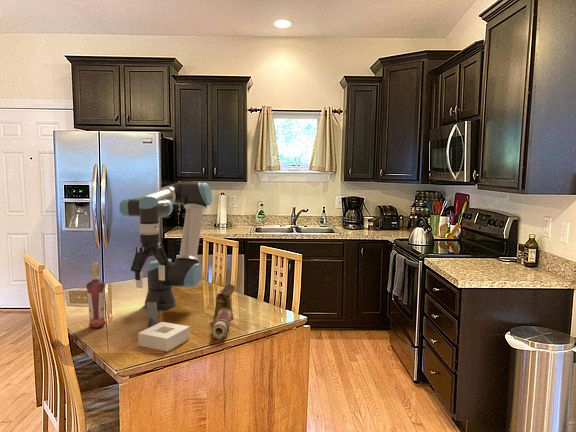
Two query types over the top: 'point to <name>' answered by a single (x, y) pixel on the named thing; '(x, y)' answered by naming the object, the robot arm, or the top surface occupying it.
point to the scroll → (221, 323)
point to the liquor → (96, 299)
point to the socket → (164, 336)
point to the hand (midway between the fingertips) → (151, 283)
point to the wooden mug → (224, 300)
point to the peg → (151, 314)
